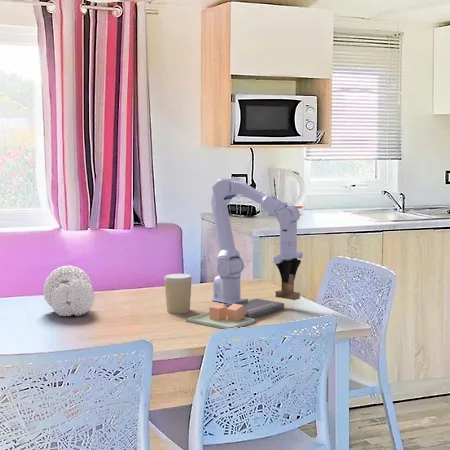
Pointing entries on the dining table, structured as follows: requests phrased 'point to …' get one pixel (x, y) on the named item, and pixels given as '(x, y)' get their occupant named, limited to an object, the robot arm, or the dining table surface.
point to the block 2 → (235, 312)
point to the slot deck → (258, 307)
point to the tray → (225, 323)
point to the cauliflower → (69, 291)
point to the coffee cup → (178, 292)
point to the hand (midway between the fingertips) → (288, 281)
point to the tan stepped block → (288, 290)
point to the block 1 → (218, 312)
